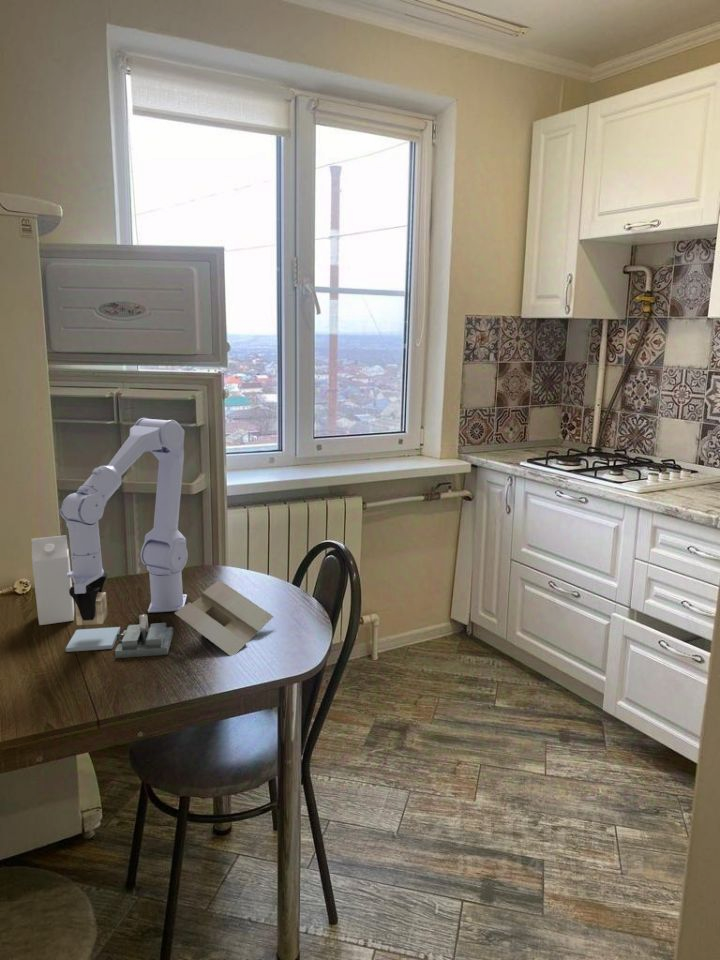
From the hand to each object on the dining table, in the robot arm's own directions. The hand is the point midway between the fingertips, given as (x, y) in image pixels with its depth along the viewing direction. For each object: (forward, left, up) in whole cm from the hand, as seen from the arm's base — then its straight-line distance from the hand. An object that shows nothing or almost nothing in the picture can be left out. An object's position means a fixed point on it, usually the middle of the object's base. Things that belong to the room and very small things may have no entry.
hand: (91, 614), depth 146 cm
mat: (0, 0, -6) cm, 6 cm away
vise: (+4, +11, -6) cm, 13 cm away
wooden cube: (0, 0, -1) cm, 1 cm away
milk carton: (-14, -11, -6) cm, 19 cm away
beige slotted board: (+2, +28, -6) cm, 28 cm away
